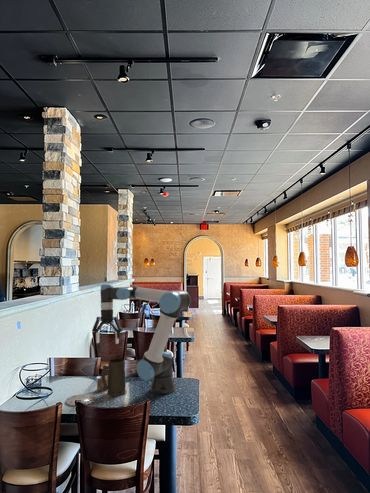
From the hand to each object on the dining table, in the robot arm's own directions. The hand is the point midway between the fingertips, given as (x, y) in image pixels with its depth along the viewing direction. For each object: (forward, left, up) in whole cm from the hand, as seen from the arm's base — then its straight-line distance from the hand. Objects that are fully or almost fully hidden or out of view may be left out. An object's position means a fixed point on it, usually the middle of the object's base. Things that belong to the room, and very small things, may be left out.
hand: (107, 343), depth 237 cm
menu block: (+1, +1, -28) cm, 28 cm away
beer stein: (-11, +4, -28) cm, 31 cm away
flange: (-6, +23, -28) cm, 37 cm away
